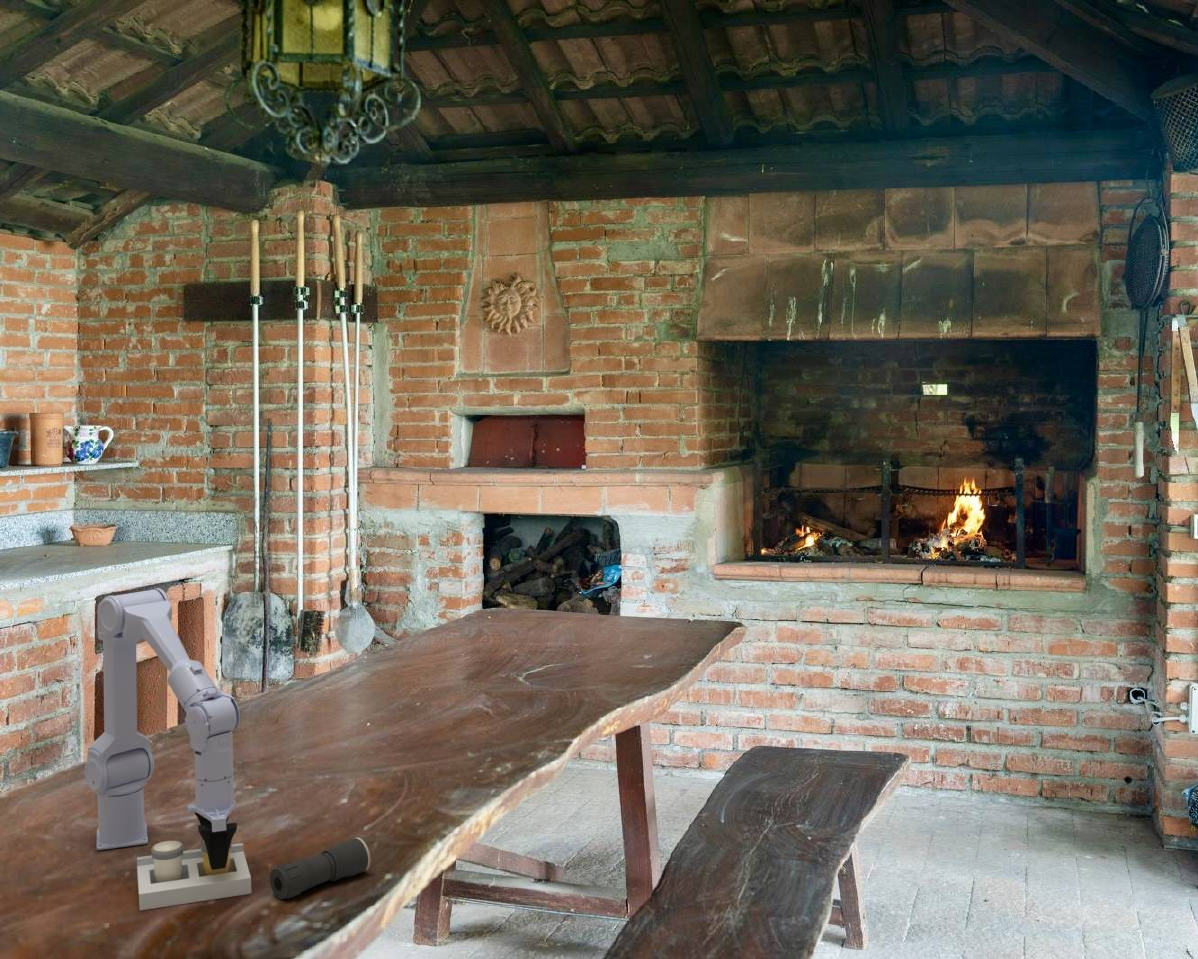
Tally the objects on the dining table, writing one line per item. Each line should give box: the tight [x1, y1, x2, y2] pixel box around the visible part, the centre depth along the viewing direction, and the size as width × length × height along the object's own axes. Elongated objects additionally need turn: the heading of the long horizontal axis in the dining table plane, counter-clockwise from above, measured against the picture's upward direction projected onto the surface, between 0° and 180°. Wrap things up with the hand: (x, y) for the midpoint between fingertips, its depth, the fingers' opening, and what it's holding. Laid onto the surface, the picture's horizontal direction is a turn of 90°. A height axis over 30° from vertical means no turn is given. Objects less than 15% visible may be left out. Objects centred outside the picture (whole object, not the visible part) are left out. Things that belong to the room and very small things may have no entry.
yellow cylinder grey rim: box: [200, 838, 233, 876], centre depth 192 cm, size 5×5×7 cm
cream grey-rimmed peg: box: [151, 840, 184, 883], centre depth 190 cm, size 5×5×7 cm
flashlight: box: [269, 837, 371, 900], centre depth 192 cm, size 15×5×5 cm, turn 137°
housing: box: [136, 842, 252, 911], centre depth 191 cm, size 12×16×4 cm
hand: (216, 860), depth 192 cm, fingers open, 6 cm apart
